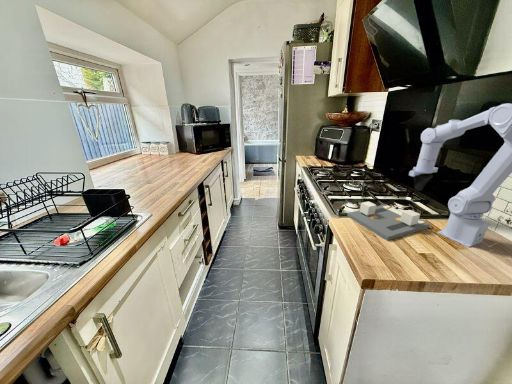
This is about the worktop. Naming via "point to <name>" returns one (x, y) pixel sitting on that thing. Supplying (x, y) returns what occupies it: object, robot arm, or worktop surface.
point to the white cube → (409, 217)
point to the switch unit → (386, 222)
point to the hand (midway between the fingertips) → (418, 189)
